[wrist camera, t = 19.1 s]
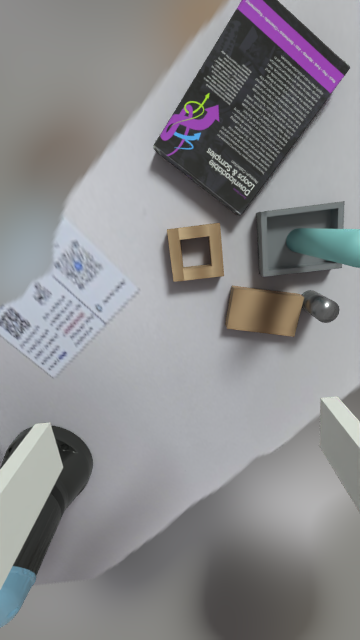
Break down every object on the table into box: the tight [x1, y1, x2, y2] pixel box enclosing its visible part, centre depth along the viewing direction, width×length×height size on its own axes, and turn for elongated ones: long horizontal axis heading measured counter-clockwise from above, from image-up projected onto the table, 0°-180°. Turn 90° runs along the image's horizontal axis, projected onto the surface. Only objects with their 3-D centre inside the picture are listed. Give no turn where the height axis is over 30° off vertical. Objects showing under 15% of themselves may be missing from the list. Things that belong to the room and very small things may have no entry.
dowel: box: [286, 228, 360, 268], centre depth 33 cm, size 3×3×16 cm
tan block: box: [225, 286, 304, 337], centre depth 44 cm, size 10×6×2 cm, turn 83°
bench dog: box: [302, 290, 339, 323], centre depth 41 cm, size 3×3×6 cm
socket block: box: [167, 223, 224, 282], centre depth 41 cm, size 7×7×2 cm
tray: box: [257, 201, 344, 277], centre depth 40 cm, size 10×8×3 cm
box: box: [154, 0, 350, 215], centre depth 36 cm, size 14×4×20 cm
